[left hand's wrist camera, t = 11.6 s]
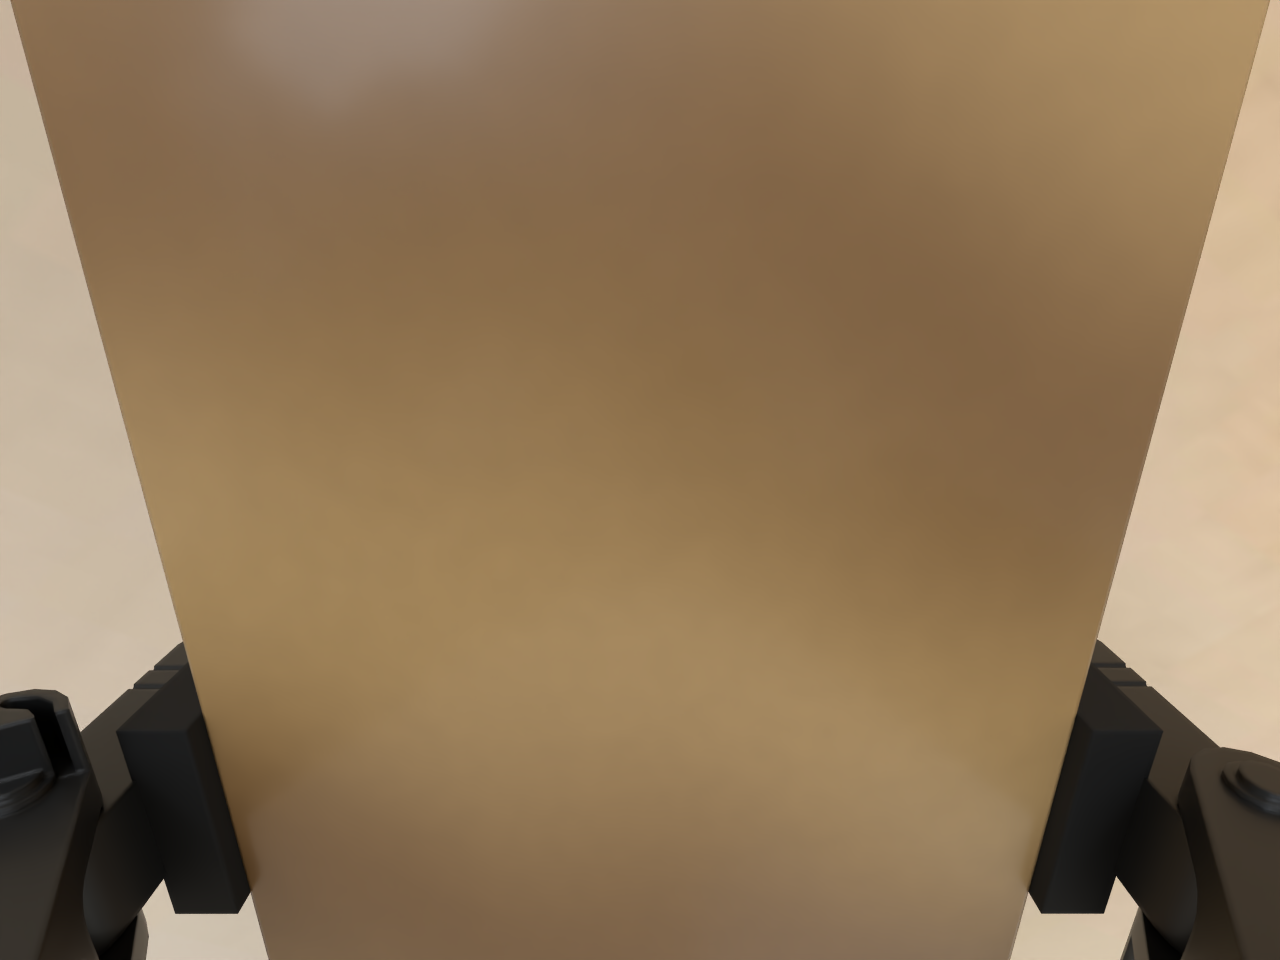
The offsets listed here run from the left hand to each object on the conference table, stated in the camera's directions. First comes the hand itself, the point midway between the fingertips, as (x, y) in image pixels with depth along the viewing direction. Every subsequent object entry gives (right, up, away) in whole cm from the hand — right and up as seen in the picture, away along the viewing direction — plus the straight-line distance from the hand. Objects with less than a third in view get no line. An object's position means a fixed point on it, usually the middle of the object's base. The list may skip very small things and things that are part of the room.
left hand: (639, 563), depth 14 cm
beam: (0, +35, -12) cm, 37 cm away
